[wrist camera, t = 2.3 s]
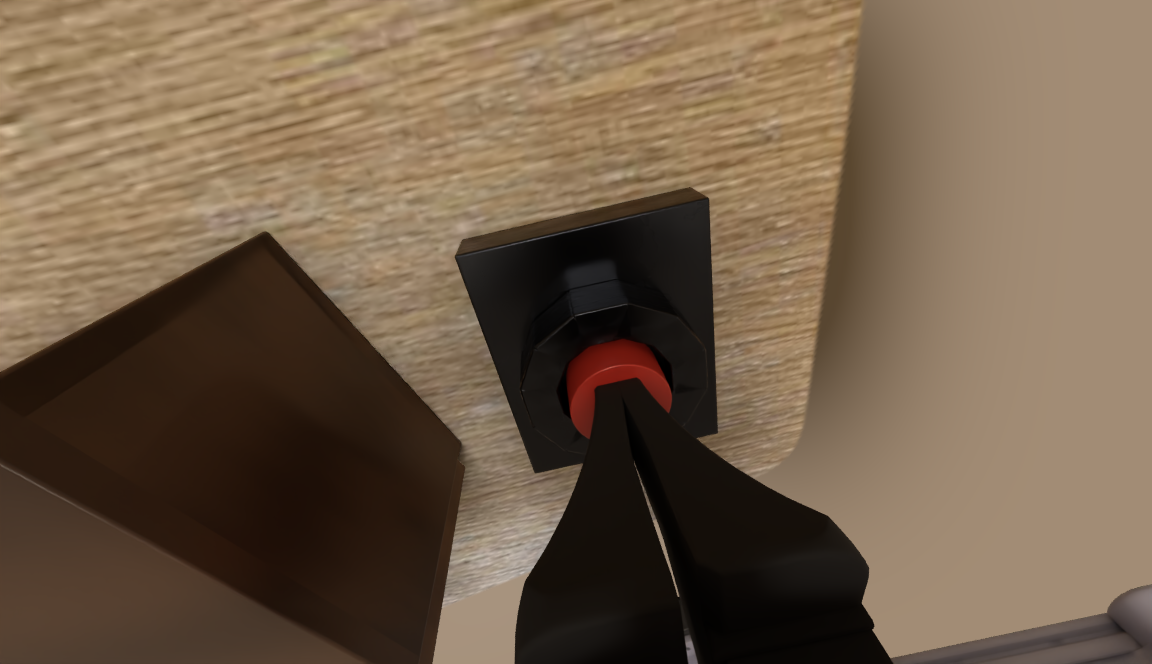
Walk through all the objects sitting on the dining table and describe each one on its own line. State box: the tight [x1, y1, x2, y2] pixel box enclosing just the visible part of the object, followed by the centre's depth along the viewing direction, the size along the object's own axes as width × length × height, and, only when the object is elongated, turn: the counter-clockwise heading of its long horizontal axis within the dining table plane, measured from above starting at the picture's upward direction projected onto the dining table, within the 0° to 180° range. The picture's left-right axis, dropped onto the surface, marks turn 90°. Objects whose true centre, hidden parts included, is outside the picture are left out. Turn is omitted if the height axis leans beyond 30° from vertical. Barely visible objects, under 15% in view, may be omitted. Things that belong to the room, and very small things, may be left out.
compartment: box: [0, 232, 461, 664], centre depth 13 cm, size 11×14×9 cm
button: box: [566, 339, 672, 439], centre depth 14 cm, size 3×3×2 cm
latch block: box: [455, 187, 718, 473], centre depth 15 cm, size 10×8×4 cm
